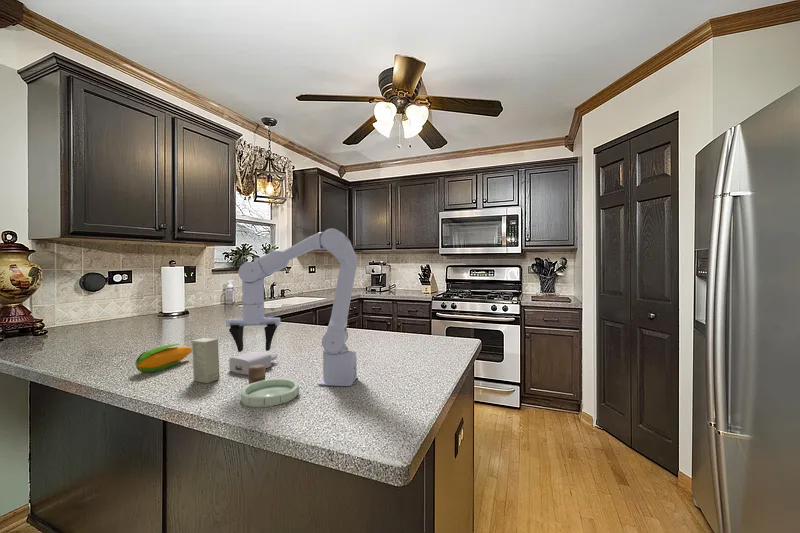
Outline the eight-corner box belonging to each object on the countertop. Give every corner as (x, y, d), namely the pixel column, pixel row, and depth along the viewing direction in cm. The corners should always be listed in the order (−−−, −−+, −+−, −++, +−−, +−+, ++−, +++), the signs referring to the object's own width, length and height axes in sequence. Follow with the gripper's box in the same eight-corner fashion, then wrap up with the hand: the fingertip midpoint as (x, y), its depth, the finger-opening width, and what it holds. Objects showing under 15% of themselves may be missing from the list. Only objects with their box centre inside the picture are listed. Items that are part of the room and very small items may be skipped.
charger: (285, 363, 120) (248, 376, 107) (266, 359, 124) (229, 371, 111) (285, 349, 120) (248, 360, 107) (266, 346, 124) (229, 357, 111)
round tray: (306, 386, 96) (306, 379, 96) (284, 408, 83) (284, 399, 83) (258, 385, 98) (258, 377, 98) (229, 406, 84) (229, 397, 84)
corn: (127, 351, 107) (182, 337, 126) (127, 375, 107) (181, 357, 127) (146, 354, 105) (199, 339, 125) (146, 379, 105) (198, 360, 125)
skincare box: (220, 379, 103) (219, 338, 103) (206, 384, 99) (205, 342, 99) (205, 376, 106) (205, 336, 106) (191, 381, 102) (191, 340, 102)
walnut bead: (268, 381, 101) (267, 364, 101) (260, 387, 97) (260, 369, 97) (253, 381, 101) (253, 364, 101) (245, 386, 97) (245, 369, 97)
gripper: (282, 301, 104) (283, 346, 105) (232, 302, 103) (233, 348, 103) (276, 304, 97) (277, 352, 98) (222, 305, 96) (223, 354, 96)
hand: (254, 350), depth 100 cm, fingers open, 7 cm apart
